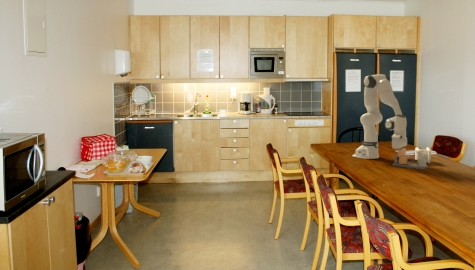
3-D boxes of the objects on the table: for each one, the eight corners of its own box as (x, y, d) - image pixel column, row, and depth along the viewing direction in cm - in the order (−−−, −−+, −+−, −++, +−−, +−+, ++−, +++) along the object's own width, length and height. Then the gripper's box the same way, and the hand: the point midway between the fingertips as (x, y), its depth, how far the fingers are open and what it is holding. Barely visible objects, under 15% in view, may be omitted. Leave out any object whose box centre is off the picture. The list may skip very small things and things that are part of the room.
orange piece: (397, 163, 349) (397, 150, 347) (403, 161, 358) (404, 147, 356) (405, 164, 345) (405, 150, 343) (411, 162, 354) (411, 148, 352)
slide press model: (392, 165, 353) (392, 156, 352) (397, 163, 360) (398, 154, 359) (423, 169, 337) (423, 160, 336) (428, 167, 344) (428, 158, 343)
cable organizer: (430, 164, 354) (431, 150, 352) (416, 164, 357) (417, 149, 355) (427, 160, 368) (428, 147, 367) (414, 160, 371) (414, 146, 370)
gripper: (401, 133, 360) (401, 150, 362) (390, 136, 346) (390, 154, 348) (409, 134, 356) (408, 151, 358) (398, 137, 341) (398, 155, 343)
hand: (399, 152), depth 353 cm, fingers closed
